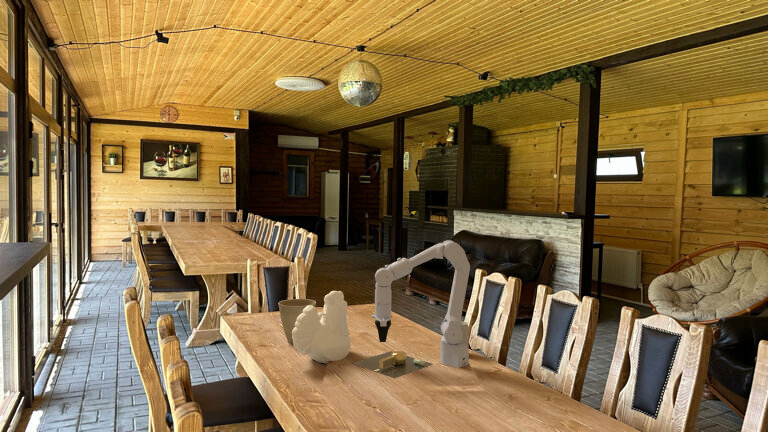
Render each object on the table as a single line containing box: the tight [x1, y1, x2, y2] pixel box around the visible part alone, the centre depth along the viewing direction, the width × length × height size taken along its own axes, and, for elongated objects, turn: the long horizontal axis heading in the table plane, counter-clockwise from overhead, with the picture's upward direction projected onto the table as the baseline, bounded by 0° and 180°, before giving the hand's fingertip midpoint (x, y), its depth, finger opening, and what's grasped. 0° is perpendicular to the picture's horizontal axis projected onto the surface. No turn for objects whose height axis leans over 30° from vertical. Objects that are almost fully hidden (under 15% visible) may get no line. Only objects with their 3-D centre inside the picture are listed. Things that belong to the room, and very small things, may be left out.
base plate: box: [351, 350, 433, 379], centre depth 178 cm, size 20×20×3 cm
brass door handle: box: [379, 350, 407, 368], centre depth 176 cm, size 12×5×3 cm, turn 141°
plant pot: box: [277, 298, 317, 345], centre depth 208 cm, size 15×15×16 cm
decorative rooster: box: [292, 290, 352, 364], centre depth 184 cm, size 25×16×25 cm, turn 129°
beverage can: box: [461, 320, 470, 348], centre depth 195 cm, size 6×6×12 cm
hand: (382, 341), depth 180 cm, fingers closed
